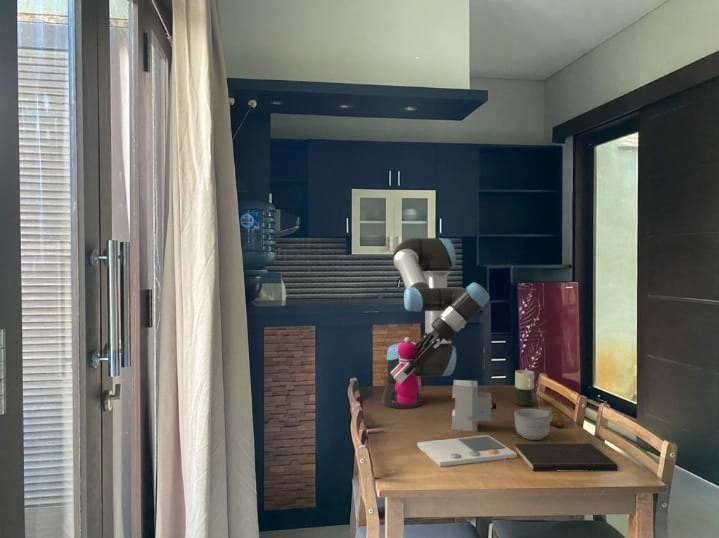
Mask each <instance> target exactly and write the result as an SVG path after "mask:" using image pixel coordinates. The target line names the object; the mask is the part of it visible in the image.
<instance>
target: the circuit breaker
mask: <svg viewBox="0 0 719 538" xmlns="http://www.w3.org/2000/svg"><path fill="white" fill-rule="evenodd" d="M478 387H479V384H478V381H477V380H463V379H462V380H461V379H453V384H452V397H451V398H452V399H454V409H452V415H451V416H452V417H451V430H452V431H460V430H463V431H465V432H475V431H477V432H478V421H481V422H492V413H493V410H497V403H495V402H493V400H492V393H491V392H485V391H479V388H478ZM453 429H455V430H453ZM463 431H462V432H463Z"/></svg>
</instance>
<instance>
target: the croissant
mask: <svg viewBox="0 0 719 538" xmlns="http://www.w3.org/2000/svg"><path fill="white" fill-rule="evenodd" d="M548 411H551V412H552V415H553V418H552V421H551V422H550V423H549V425H551V426H553V427H555V428H558V429H563V427H564V425H565V419H564V418H565V417H564V416H563V414H562V412H561V411H559V410H557V409H555V408H552V409H549V410H548Z"/></svg>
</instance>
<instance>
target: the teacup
mask: <svg viewBox="0 0 719 538" xmlns="http://www.w3.org/2000/svg"><path fill="white" fill-rule="evenodd" d="M513 414H514V427H515V432H517V434H518V435H519V436H521V438H523V439H525V438H526V440H531V441H538V440H543V439H544V438H545V437H546V436H548V435H549V432H550V424H549V423H550V422H551V421H552V418H553V415H552V412H551V411H549V410H542V409H538V408H537V409H534V408H522V409H517V410H515V411H514V413H513Z"/></svg>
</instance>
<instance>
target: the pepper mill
mask: <svg viewBox="0 0 719 538" xmlns="http://www.w3.org/2000/svg"><path fill="white" fill-rule="evenodd" d="M411 342H412V341H411V338H410V337H409V336H406V337H405V338H404V342H400V343H401V344H400V345H399V346H398V354H399V356H400V358H399V363H400V365H401V369H402V368H403V367H404V366H405V365H406V364H407V363H408V360H411V361H412V359H413V358H414V357H415V356H416V354H417V348H416V346H415V345H414V344H413V343H411ZM401 369H400V370H401ZM395 389H396V391H397V392H398V395H397V402H398V403H401V404H415V403H416V402H417V396H416V395H415V394H416V393H417V392H418V390H419V391H420V388H419V381H418V378H417V379H416V377H415V373H414V370H413V371H412V372H411V374H410V375H409V376H408V377H407V378H406V379H405V380H404V381H403V382H402V383H401V384H399V383H398V382H397V381H396V385H395Z"/></svg>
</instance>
